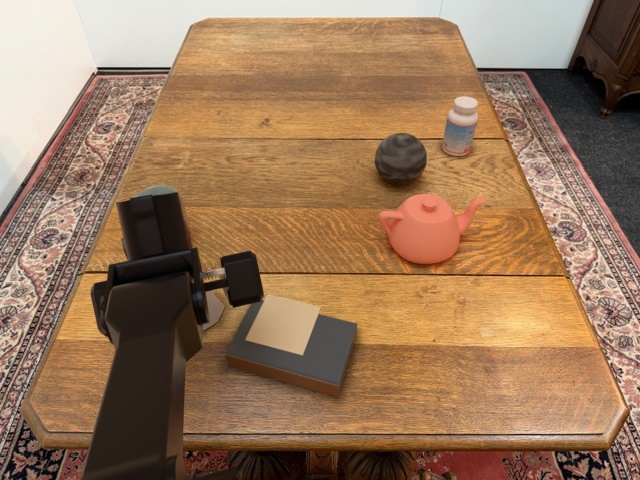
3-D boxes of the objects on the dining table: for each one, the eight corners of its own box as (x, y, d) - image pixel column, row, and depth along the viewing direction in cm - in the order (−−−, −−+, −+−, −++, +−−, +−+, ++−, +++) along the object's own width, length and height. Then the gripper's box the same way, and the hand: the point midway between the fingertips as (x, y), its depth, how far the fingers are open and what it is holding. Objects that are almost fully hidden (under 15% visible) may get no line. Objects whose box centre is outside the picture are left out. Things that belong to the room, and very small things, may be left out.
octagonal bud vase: (165, 319, 72) (147, 276, 64) (198, 287, 76) (184, 244, 69) (201, 340, 69) (187, 298, 62) (233, 306, 73) (223, 263, 66)
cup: (171, 222, 87) (157, 179, 80) (201, 239, 84) (190, 195, 76) (138, 247, 82) (120, 203, 75) (168, 266, 79) (152, 222, 72)
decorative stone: (426, 169, 97) (434, 127, 90) (418, 199, 90) (426, 156, 83) (378, 161, 99) (382, 119, 92) (367, 190, 93) (371, 147, 85)
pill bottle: (470, 158, 99) (482, 111, 91) (440, 155, 100) (450, 107, 92) (470, 143, 104) (481, 95, 96) (441, 139, 105) (451, 93, 97)
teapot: (369, 222, 86) (372, 181, 79) (465, 214, 87) (476, 173, 80) (382, 272, 77) (387, 231, 71) (488, 263, 79) (503, 221, 72)
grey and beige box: (338, 397, 62) (338, 385, 60) (227, 366, 66) (224, 354, 64) (358, 328, 70) (359, 316, 68) (258, 303, 73) (256, 291, 71)
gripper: (248, 203, 49) (244, 213, 65) (58, 239, 46) (102, 241, 61) (269, 307, 50) (260, 292, 65) (83, 350, 46) (120, 324, 62)
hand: (187, 285), depth 63 cm, fingers open, 9 cm apart
